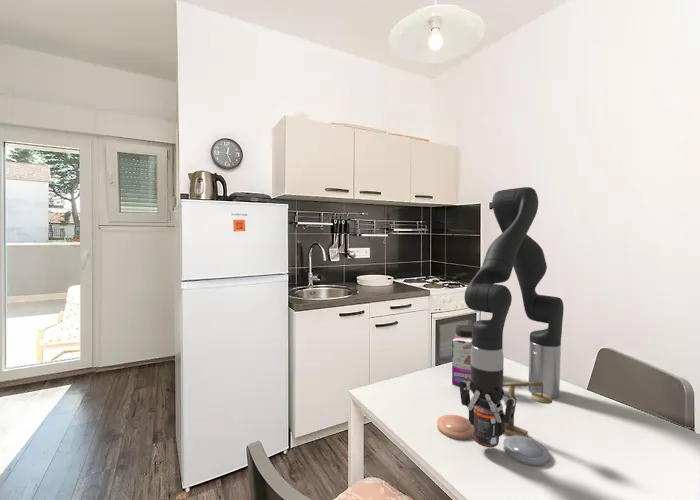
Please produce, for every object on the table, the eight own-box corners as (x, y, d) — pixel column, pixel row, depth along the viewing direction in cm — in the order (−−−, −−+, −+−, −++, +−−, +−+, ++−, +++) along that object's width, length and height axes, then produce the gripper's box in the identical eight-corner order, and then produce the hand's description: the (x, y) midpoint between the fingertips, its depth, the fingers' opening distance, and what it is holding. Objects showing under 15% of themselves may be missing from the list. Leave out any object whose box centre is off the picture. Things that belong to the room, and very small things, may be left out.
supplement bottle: (501, 450, 81) (502, 404, 80) (475, 447, 82) (475, 402, 81) (496, 435, 87) (496, 392, 86) (471, 433, 88) (472, 390, 87)
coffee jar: (477, 368, 135) (478, 322, 134) (483, 376, 128) (484, 328, 127) (453, 367, 137) (453, 322, 136) (456, 375, 129) (457, 327, 128)
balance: (480, 415, 100) (481, 360, 100) (553, 446, 86) (555, 382, 85) (472, 420, 97) (473, 364, 97) (547, 454, 83) (549, 387, 82)
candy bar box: (485, 384, 121) (485, 339, 120) (485, 390, 117) (485, 343, 116) (452, 379, 125) (453, 335, 125) (451, 384, 121) (452, 339, 120)
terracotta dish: (449, 414, 101) (449, 410, 101) (481, 429, 93) (481, 424, 93) (429, 427, 94) (430, 423, 94) (462, 444, 87) (462, 439, 86)
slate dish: (513, 435, 90) (513, 430, 90) (555, 453, 83) (555, 448, 83) (496, 450, 84) (496, 445, 84) (539, 472, 76) (539, 466, 76)
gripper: (523, 368, 80) (522, 436, 81) (467, 352, 91) (467, 412, 92) (509, 377, 75) (508, 449, 76) (452, 359, 86) (452, 423, 87)
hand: (485, 429), depth 84 cm, fingers closed on supplement bottle, 6 cm apart
